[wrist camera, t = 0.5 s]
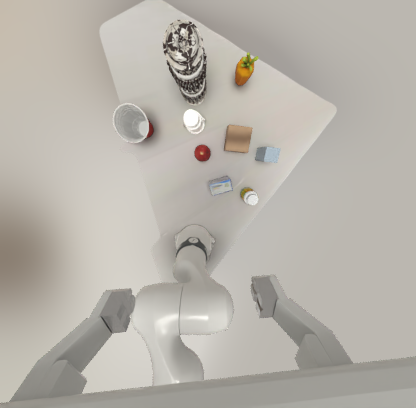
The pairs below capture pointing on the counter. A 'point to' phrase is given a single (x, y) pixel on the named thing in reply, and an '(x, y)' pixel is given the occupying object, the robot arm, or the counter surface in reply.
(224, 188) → the medicine box
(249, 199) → the supplement bottle
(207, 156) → the red round fruit
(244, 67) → the carrot
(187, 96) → the decorative candle
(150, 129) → the plastic cup
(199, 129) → the downlight
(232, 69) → the counter surface
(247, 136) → the walnut block
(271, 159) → the slate pillar
